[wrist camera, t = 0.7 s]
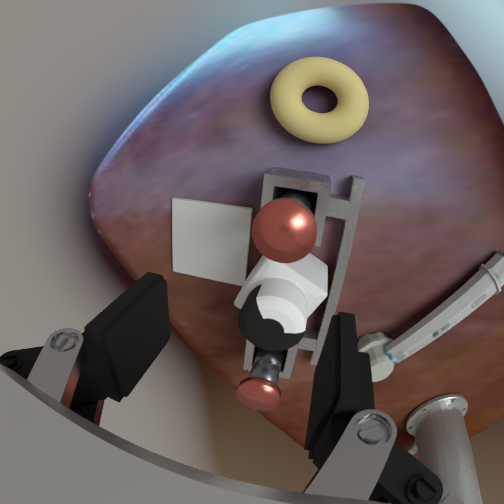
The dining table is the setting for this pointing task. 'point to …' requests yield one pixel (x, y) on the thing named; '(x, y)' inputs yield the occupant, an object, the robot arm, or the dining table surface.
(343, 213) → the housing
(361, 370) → the robot arm
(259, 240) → the plunger
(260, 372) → the plunger
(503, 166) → the dining table surface
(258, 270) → the medicine bottle
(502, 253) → the grey piece
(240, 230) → the mat
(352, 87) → the donut
